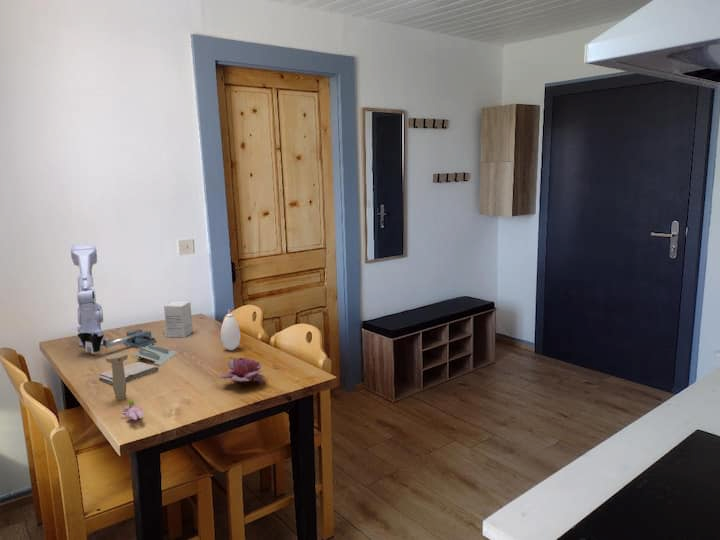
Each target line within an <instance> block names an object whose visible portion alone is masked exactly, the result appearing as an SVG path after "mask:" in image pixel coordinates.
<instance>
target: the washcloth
mask: <svg viewBox="0 0 720 540" xmlns="http://www.w3.org/2000/svg"><path fill="white" fill-rule="evenodd" d="M123 367H124V373H125V379H126V383H129V382H132V381H134V380H133V379H135V380H137V379H136V378H138V379H140V378H139V377H141V378H143V377H142V376H144V377H146V376H148V374H149V375H152V374H155V373H157V372H158V371H159V369H160V368H159V367H158V366H157V365H152V364H147V363H144V362H141V361H137V362H135V363H134V362H133V363H132V364H126V365H123ZM154 372H155V373H154ZM151 373H152V374H151ZM145 375H146V376H145ZM98 377H99V378H98V380H100V381H101V382H103V383H107V384H108V385H111V386H113V374H112V369H110V370H108V371H104V372H101V373H99V375H98ZM131 380H132V381H131Z"/></svg>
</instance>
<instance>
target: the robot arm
mask: <svg viewBox="0 0 720 540" xmlns="http://www.w3.org/2000/svg"><path fill="white" fill-rule="evenodd" d="M97 251H98V250H97V245H96V244H95V243H93V244H81V245H78V244H77V245H71V246H70V256H71V260H72V263H73V265H74V266H78V268H79V273H80V274H79V276H78V277H77V292H76V299H77V300H76V301H77V304H78V308H77V322H78V323H77V324H78V325H79V326H77V332H78V333H77V337H78V338H79V343H78V344H77V345H79V346H82V347H83V348H84V349H85V341H88V340H90V341H91V343H92V346H93V350H94V352H98V351H100V352H101V345H103V338H104V337H105V334H104V330H102V324H101V323H103V322H104V310H103V306H102V305H101V304H100V303H98V302H96V301H97V298H96V291H95V288H94V278H93V274H92V272H93V271H92V269H93V265H95V264H97V263H98V258H97V257H98V254H97ZM98 353H99V352H98Z"/></svg>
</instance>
